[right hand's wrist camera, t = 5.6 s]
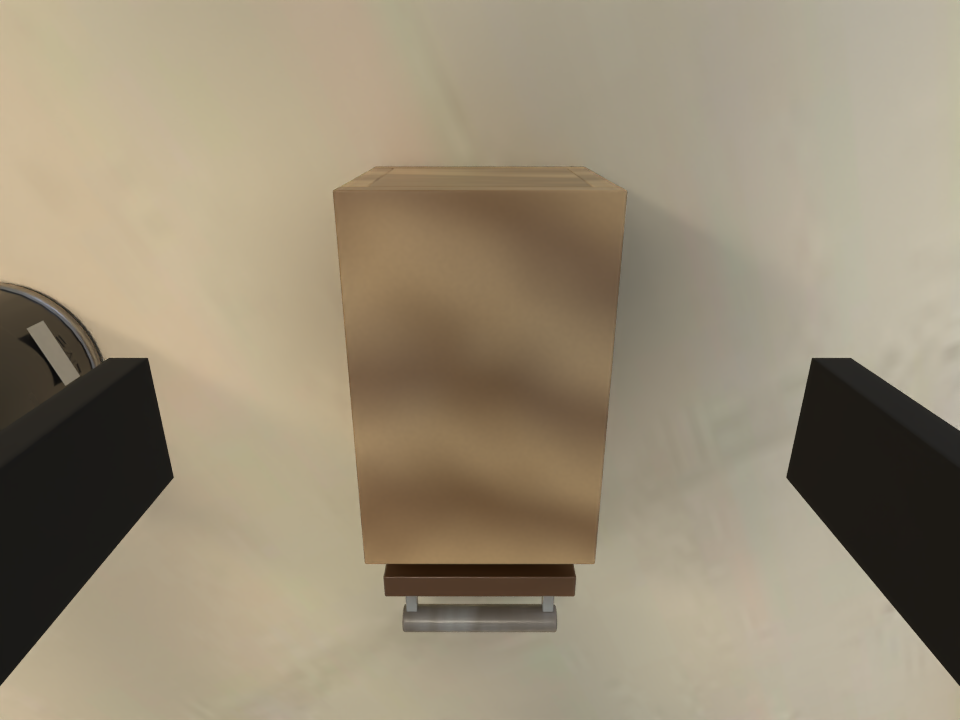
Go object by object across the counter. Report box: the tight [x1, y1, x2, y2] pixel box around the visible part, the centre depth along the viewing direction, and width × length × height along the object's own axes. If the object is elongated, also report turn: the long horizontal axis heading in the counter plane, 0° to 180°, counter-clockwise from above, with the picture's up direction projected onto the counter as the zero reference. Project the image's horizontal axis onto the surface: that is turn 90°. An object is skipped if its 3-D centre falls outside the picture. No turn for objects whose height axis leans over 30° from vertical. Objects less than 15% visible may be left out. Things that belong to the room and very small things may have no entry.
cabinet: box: [333, 167, 627, 564], centre depth 29 cm, size 16×10×10 cm, turn 0°
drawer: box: [384, 564, 576, 632], centre depth 32 cm, size 21×9×7 cm, turn 0°
